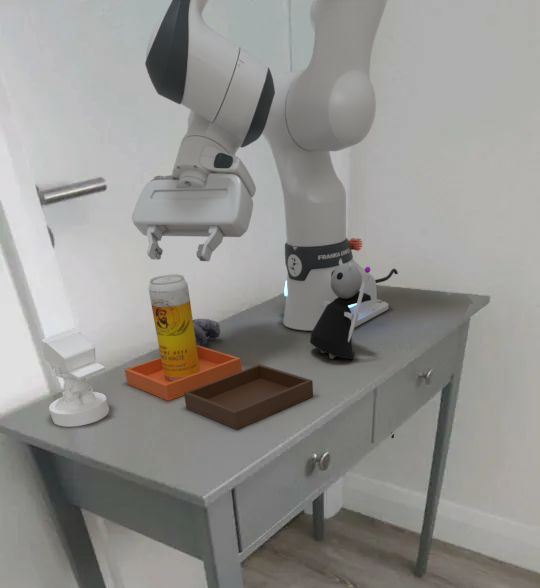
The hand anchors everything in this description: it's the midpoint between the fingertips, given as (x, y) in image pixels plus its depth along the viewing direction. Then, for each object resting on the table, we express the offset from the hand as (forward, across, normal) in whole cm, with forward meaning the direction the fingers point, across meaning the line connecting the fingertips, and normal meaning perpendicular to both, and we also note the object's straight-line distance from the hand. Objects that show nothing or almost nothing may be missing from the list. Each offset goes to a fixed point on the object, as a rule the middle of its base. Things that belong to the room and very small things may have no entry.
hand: (177, 258), depth 101 cm
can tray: (+15, +1, +9) cm, 18 cm away
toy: (+3, +22, +22) cm, 31 cm away
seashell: (+5, -6, +20) cm, 21 cm away
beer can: (+15, +1, +9) cm, 18 cm away
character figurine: (+28, -6, -4) cm, 29 cm away
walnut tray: (+20, +17, +5) cm, 27 cm away
